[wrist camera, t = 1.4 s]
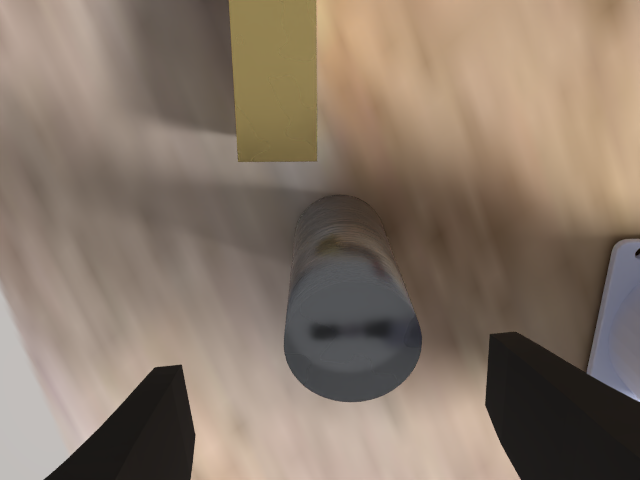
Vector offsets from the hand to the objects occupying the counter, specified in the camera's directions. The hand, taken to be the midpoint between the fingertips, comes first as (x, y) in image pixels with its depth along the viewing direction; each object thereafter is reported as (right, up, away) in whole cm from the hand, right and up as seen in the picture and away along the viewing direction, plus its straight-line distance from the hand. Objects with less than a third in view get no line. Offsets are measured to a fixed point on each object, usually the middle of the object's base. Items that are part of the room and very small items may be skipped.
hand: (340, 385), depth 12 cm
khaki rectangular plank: (-2, +10, +6) cm, 12 cm away
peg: (0, +3, +9) cm, 10 cm away
